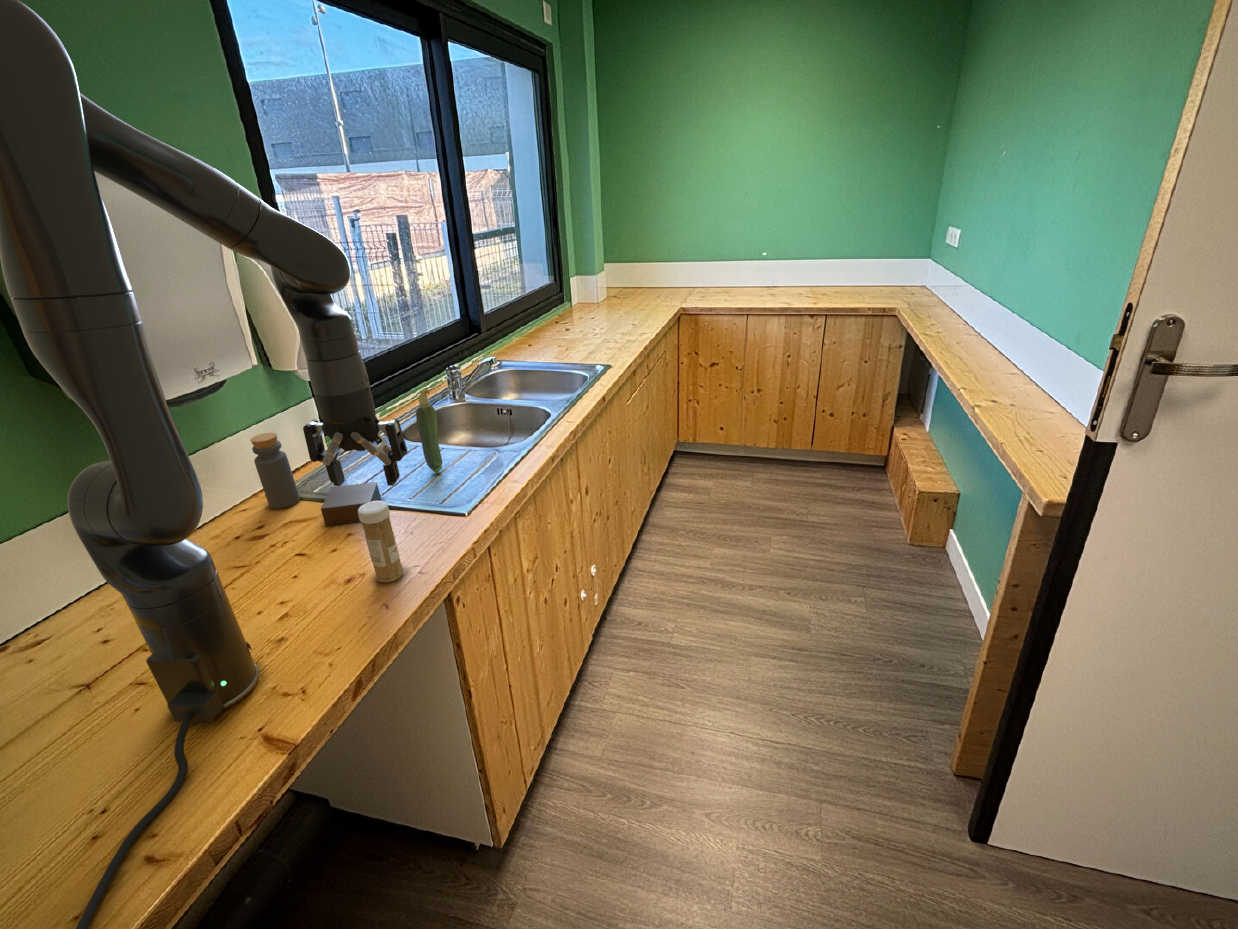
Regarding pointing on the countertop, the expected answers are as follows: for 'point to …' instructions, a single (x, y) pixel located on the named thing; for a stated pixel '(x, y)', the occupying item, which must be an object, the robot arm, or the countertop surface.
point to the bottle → (274, 471)
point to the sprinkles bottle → (380, 540)
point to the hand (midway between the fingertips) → (366, 483)
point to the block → (348, 502)
